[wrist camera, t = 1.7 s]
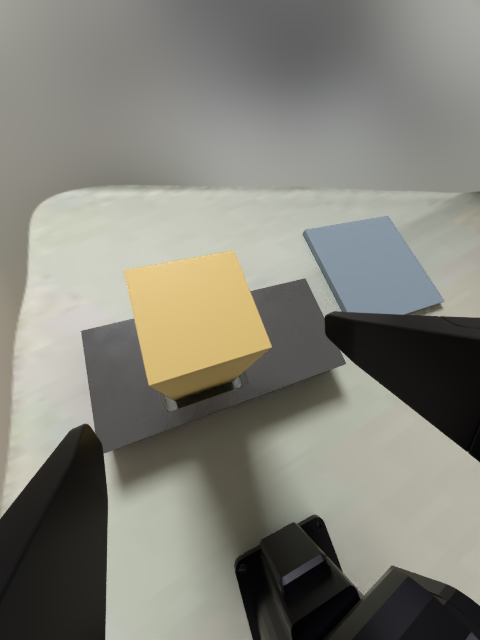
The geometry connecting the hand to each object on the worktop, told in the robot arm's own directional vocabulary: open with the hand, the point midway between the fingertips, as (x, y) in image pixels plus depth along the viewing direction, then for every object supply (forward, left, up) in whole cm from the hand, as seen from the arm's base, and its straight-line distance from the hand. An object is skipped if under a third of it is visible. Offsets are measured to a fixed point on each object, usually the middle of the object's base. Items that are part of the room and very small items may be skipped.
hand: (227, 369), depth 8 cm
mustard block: (+3, 0, -11) cm, 11 cm away
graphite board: (+3, -2, -11) cm, 11 cm away
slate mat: (+7, -21, -11) cm, 24 cm away
